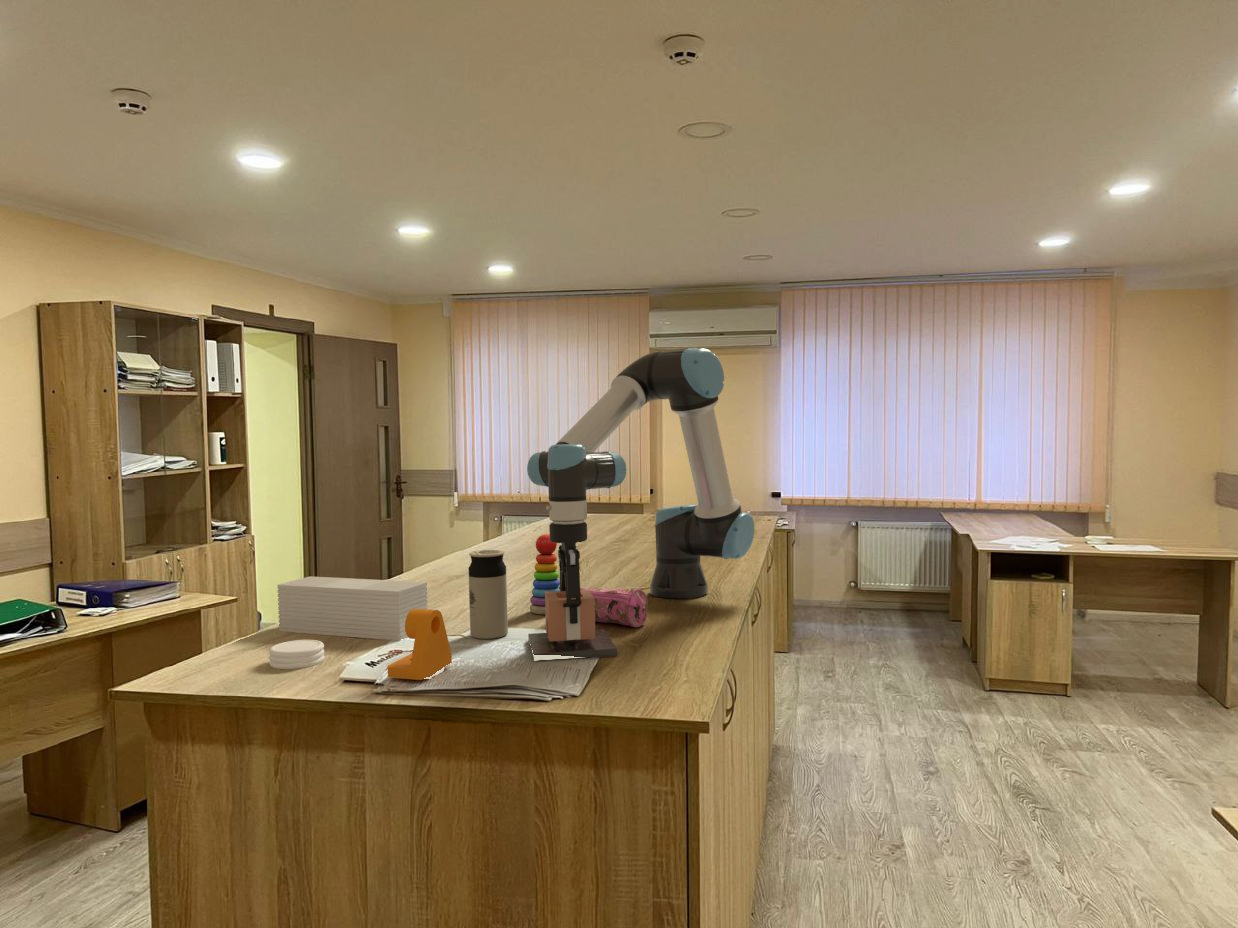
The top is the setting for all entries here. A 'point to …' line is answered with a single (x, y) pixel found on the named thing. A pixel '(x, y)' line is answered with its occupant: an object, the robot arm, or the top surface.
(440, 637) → the bracket
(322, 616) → the stack of papers
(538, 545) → the stacking toy
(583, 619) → the hollow square tube
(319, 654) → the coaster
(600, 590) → the pencil case
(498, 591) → the travel mug
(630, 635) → the top surface
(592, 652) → the post plate
